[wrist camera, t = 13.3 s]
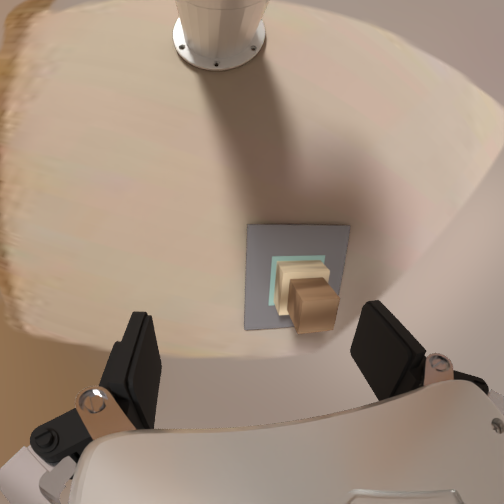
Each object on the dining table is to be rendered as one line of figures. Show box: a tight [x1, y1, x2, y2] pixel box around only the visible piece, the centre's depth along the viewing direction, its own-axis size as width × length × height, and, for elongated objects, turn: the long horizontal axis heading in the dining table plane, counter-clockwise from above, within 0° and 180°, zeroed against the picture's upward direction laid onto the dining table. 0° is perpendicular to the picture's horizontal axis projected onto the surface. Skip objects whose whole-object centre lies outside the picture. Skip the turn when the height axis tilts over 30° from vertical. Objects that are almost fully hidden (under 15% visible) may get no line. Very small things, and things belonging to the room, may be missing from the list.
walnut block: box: [287, 277, 340, 334], centre depth 36 cm, size 5×5×6 cm
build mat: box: [244, 224, 350, 330], centre depth 43 cm, size 18×16×1 cm
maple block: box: [273, 260, 330, 315], centre depth 41 cm, size 7×7×4 cm
